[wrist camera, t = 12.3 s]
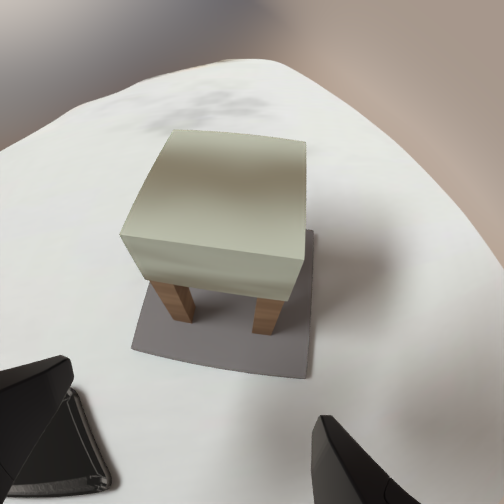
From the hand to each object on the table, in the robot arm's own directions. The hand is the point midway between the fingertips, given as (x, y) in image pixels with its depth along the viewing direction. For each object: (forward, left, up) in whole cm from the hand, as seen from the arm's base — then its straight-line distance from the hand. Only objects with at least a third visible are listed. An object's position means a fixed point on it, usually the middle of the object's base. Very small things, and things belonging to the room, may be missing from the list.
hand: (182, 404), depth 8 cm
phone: (-15, +3, -9) cm, 18 cm away
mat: (+6, +6, -8) cm, 12 cm away
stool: (+6, +6, -8) cm, 11 cm away
